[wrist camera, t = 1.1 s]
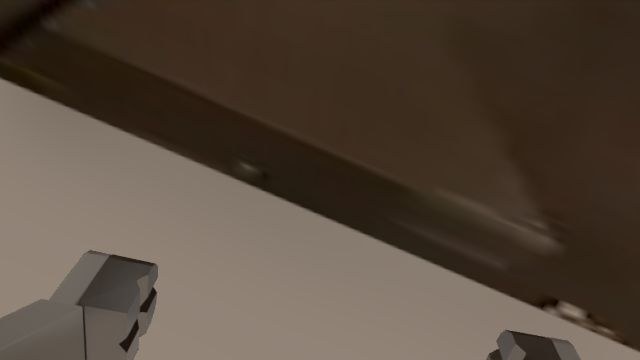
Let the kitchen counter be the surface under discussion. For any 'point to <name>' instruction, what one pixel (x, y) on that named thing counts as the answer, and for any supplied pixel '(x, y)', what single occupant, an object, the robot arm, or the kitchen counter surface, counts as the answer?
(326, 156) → the kitchen counter surface
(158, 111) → the kitchen counter surface
